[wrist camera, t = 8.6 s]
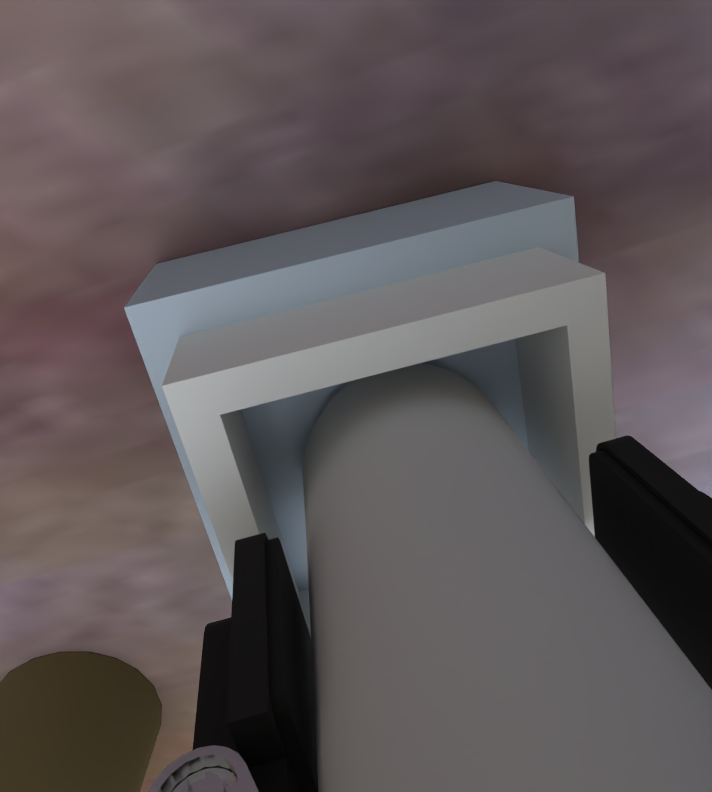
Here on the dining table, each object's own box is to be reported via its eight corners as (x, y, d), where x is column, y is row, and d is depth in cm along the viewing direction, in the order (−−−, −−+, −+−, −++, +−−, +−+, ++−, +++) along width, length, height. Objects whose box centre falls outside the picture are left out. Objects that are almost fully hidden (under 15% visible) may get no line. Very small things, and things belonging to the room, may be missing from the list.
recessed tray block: (155, 264, 18) (91, 350, 11) (495, 180, 19) (650, 211, 12) (315, 732, 26) (339, 969, 19) (555, 663, 26) (672, 867, 19)
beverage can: (530, 469, 16) (1035, 1159, 5) (369, 564, 17) (525, 1363, 6) (437, 314, 15) (900, 865, 4) (261, 426, 15) (198, 1192, 4)
